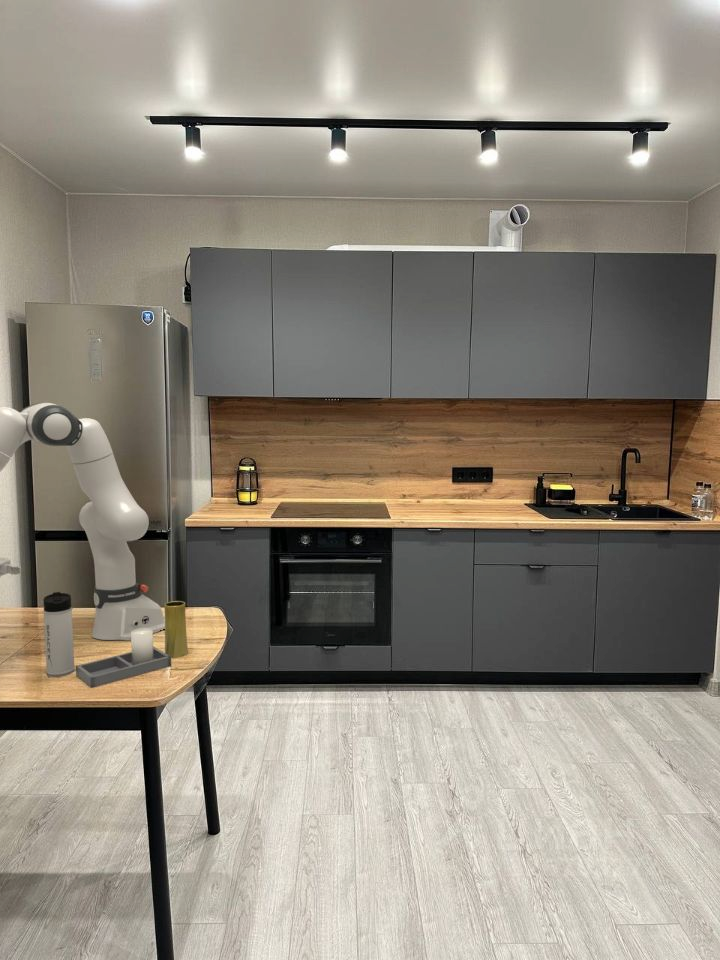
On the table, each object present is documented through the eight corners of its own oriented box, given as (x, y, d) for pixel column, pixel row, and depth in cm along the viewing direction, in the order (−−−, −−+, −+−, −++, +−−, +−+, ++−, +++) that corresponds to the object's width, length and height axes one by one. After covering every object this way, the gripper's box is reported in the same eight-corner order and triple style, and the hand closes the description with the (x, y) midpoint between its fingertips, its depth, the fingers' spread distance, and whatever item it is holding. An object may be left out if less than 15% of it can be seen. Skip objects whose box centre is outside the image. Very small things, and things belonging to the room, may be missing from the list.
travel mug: (73, 667, 169) (70, 590, 167) (75, 676, 163) (71, 596, 161) (46, 671, 166) (42, 593, 164) (47, 681, 161) (43, 600, 158)
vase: (163, 653, 179) (162, 601, 177) (187, 650, 181) (185, 599, 180) (165, 661, 173) (163, 607, 172) (189, 658, 175) (188, 605, 174)
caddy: (153, 657, 176) (153, 646, 176) (171, 668, 169) (170, 656, 168) (76, 677, 163) (75, 665, 162) (91, 690, 155) (91, 677, 155)
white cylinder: (148, 660, 172) (147, 626, 171) (157, 665, 169) (156, 631, 168) (128, 665, 169) (127, 630, 168) (137, 671, 165) (136, 636, 164)
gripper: (-75, 567, 152) (-15, 570, 152) (-24, 551, 172) (30, 554, 172) (-76, 594, 152) (-16, 597, 152) (-24, 575, 173) (29, 578, 173)
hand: (9, 574), depth 162 cm, fingers open, 8 cm apart
